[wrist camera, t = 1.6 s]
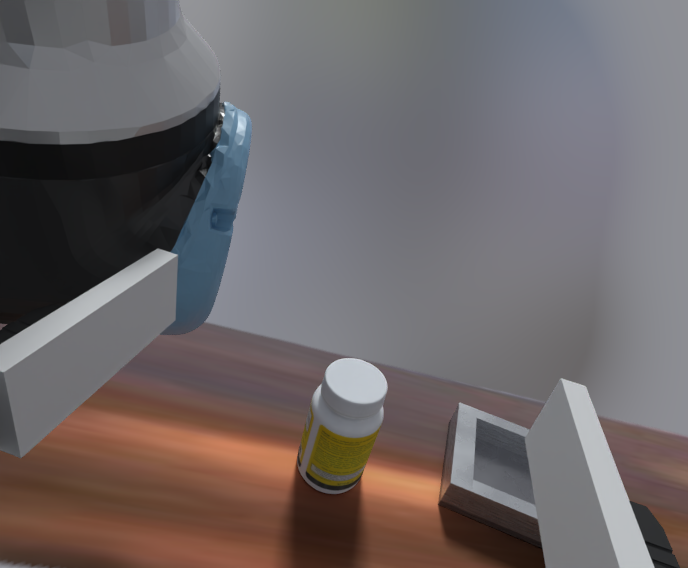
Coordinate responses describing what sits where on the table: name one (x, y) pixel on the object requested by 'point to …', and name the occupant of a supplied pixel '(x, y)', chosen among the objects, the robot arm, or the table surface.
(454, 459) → the rectangular metal tray
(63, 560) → the table surface
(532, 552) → the table surface
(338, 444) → the supplement bottle
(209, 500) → the table surface
